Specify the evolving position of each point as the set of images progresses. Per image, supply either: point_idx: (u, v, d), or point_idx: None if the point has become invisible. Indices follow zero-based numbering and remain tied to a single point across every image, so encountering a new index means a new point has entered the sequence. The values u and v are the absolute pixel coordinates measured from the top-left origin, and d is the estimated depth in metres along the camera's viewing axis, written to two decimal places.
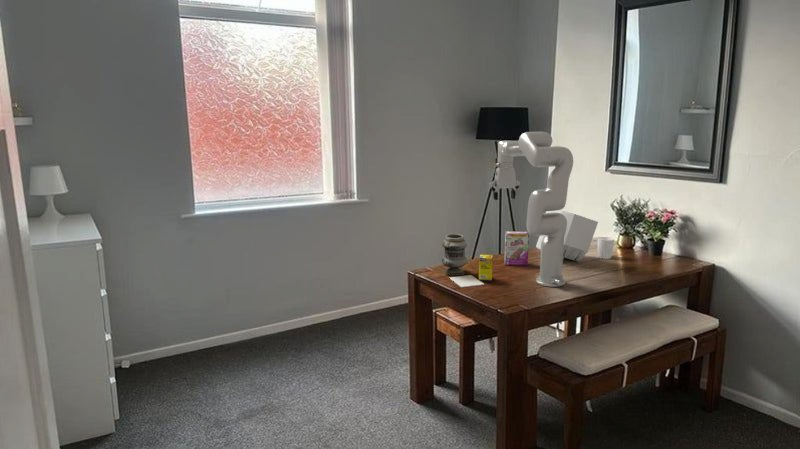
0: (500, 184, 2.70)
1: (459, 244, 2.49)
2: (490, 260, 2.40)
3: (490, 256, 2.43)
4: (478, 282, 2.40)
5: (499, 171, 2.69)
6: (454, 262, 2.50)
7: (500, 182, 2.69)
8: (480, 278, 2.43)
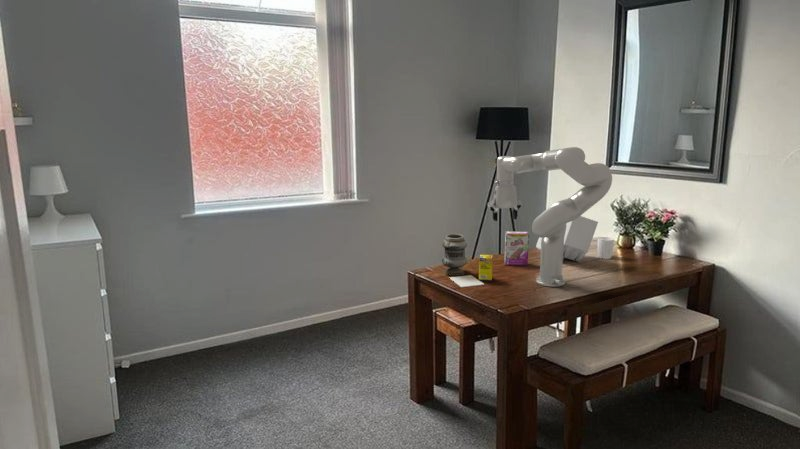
0: (500, 204, 2.46)
1: (459, 244, 2.49)
2: (490, 260, 2.40)
3: (490, 256, 2.43)
4: (478, 282, 2.40)
5: (498, 189, 2.45)
6: (454, 262, 2.50)
7: (499, 201, 2.46)
8: (480, 278, 2.43)
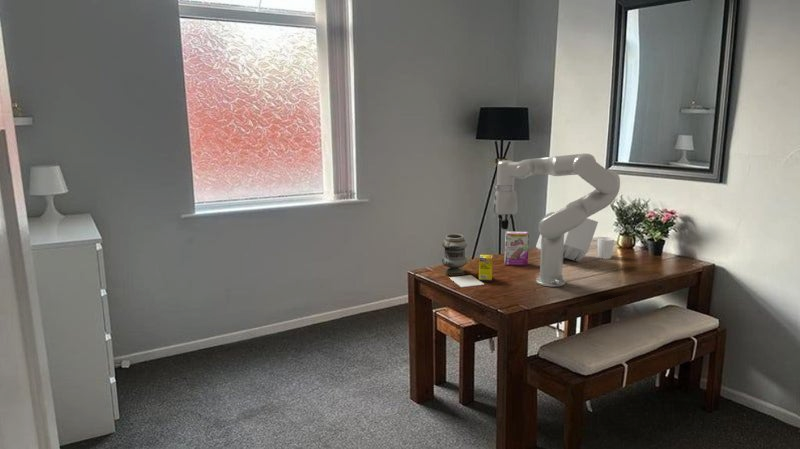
0: (500, 210, 2.38)
1: (459, 244, 2.49)
2: (490, 260, 2.40)
3: (490, 256, 2.43)
4: (478, 282, 2.40)
5: (498, 195, 2.37)
6: (454, 262, 2.50)
7: (500, 207, 2.38)
8: (480, 278, 2.43)
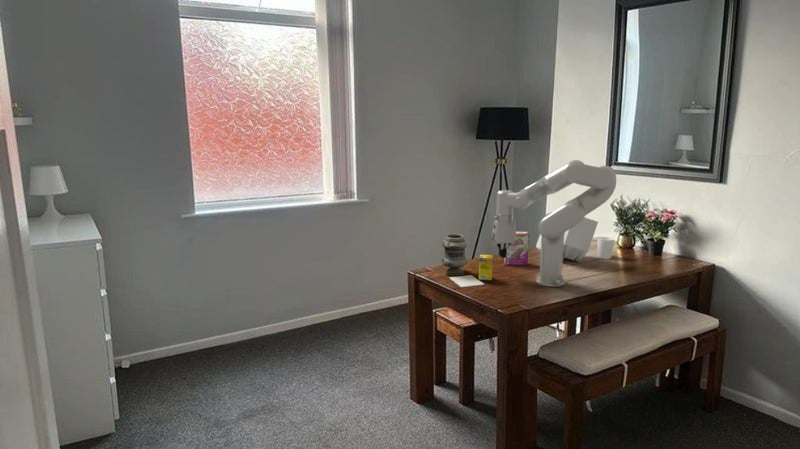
0: (498, 239, 2.41)
1: (459, 244, 2.49)
2: (490, 260, 2.40)
3: (490, 256, 2.43)
4: (478, 282, 2.40)
5: (497, 224, 2.40)
6: (454, 262, 2.50)
7: (498, 237, 2.41)
8: (480, 278, 2.43)
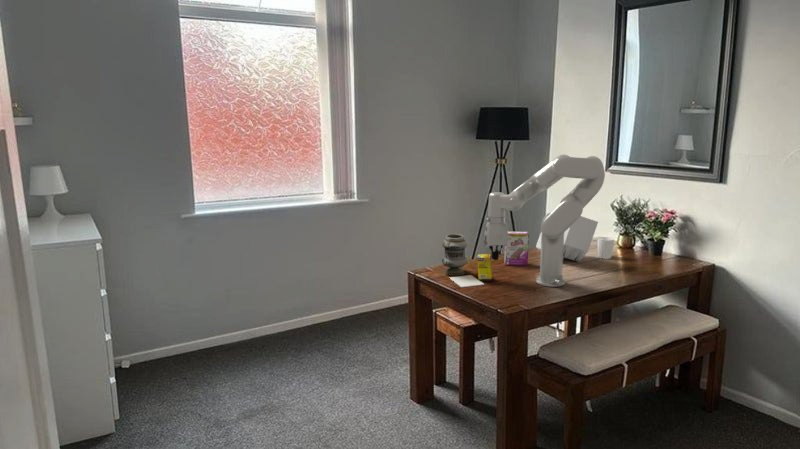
0: (490, 241, 2.40)
1: (459, 244, 2.49)
2: (488, 259, 2.41)
3: (488, 255, 2.43)
4: (478, 282, 2.40)
5: (489, 226, 2.39)
6: (454, 262, 2.50)
7: (490, 239, 2.40)
8: (480, 278, 2.43)
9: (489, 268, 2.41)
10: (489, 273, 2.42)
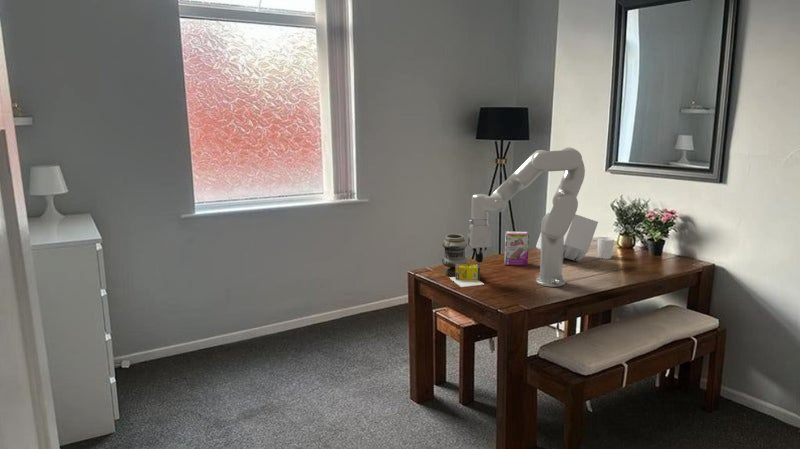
0: (474, 243, 2.37)
1: (459, 244, 2.49)
2: (457, 268, 2.44)
3: None
4: (478, 282, 2.40)
5: (472, 229, 2.37)
6: (454, 262, 2.50)
7: (474, 241, 2.37)
8: (476, 278, 2.43)
9: (467, 268, 2.43)
10: (472, 269, 2.43)
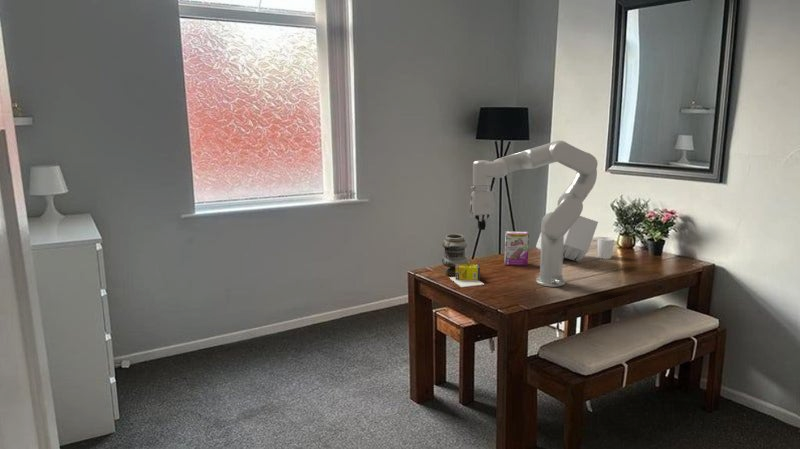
0: (476, 210, 2.35)
1: (459, 244, 2.49)
2: (457, 268, 2.44)
3: None
4: (478, 282, 2.40)
5: (474, 195, 2.34)
6: (454, 262, 2.50)
7: (476, 208, 2.35)
8: (476, 278, 2.43)
9: (467, 268, 2.43)
10: (472, 269, 2.43)
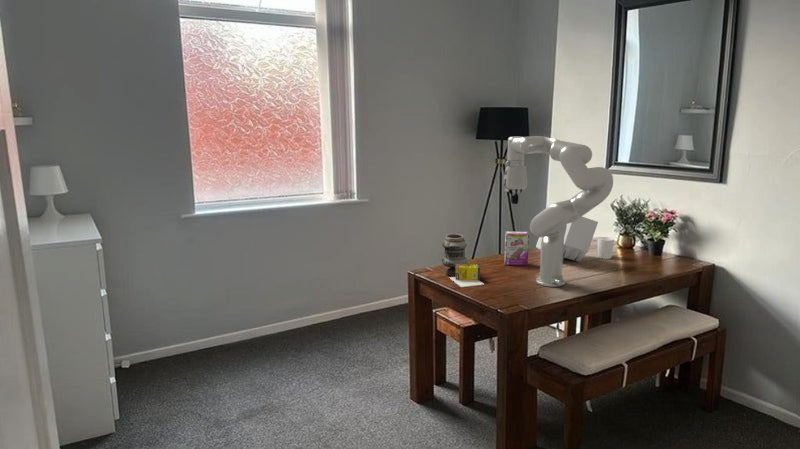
0: (510, 184, 2.44)
1: (459, 244, 2.49)
2: (457, 268, 2.44)
3: None
4: (478, 282, 2.40)
5: (509, 170, 2.43)
6: (454, 262, 2.50)
7: (510, 182, 2.44)
8: (476, 278, 2.43)
9: (467, 268, 2.43)
10: (472, 269, 2.43)
